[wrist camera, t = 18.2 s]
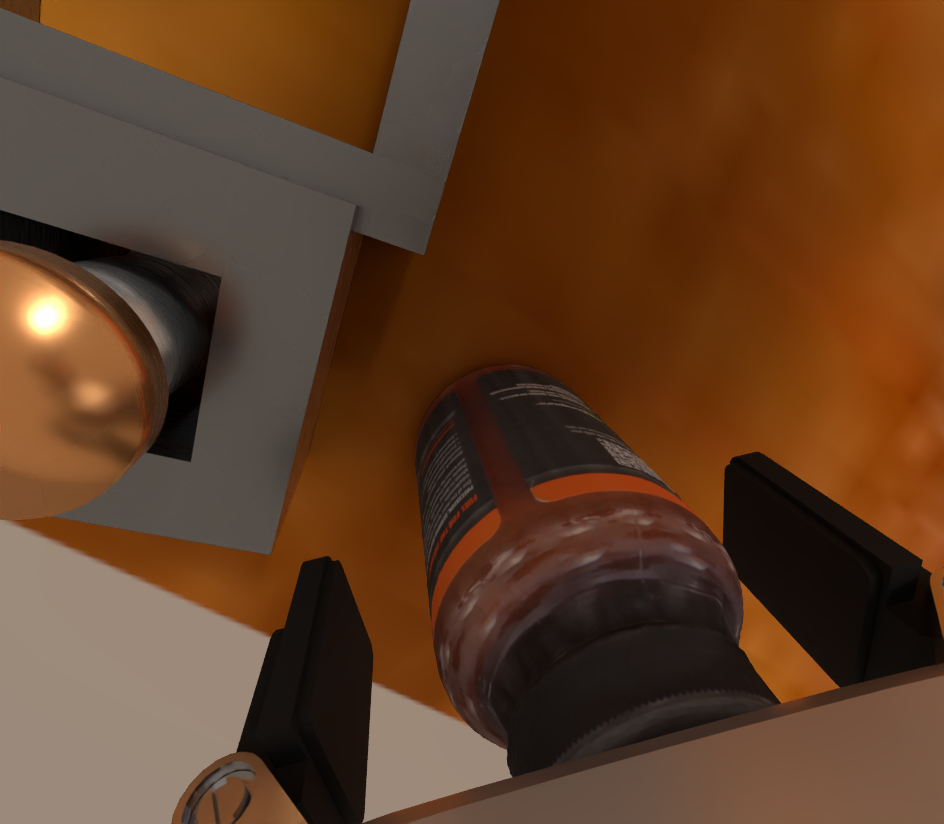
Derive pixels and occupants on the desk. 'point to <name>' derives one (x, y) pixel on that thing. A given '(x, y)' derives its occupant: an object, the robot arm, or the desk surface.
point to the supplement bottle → (569, 578)
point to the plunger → (90, 368)
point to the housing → (226, 239)
